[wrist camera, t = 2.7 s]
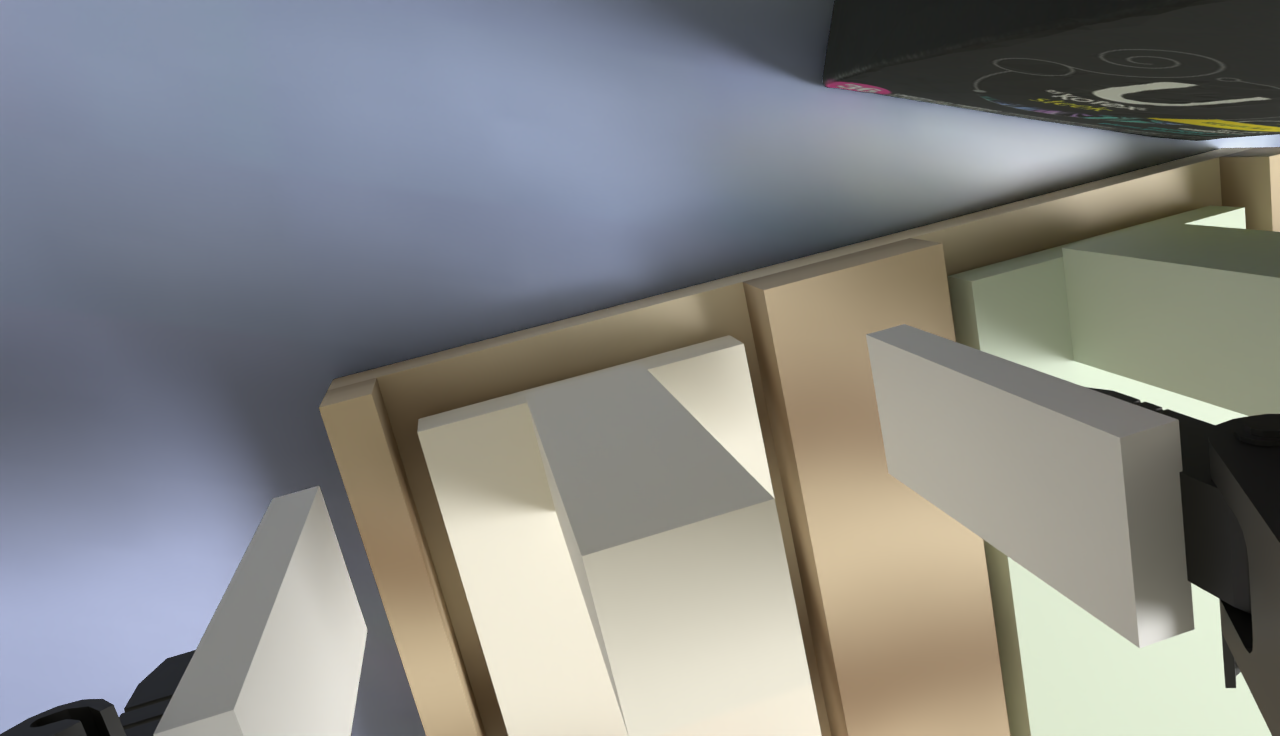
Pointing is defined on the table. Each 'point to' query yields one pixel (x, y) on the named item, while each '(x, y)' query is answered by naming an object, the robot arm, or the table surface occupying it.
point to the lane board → (768, 453)
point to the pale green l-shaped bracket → (1152, 372)
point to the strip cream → (626, 552)
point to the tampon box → (1071, 60)
